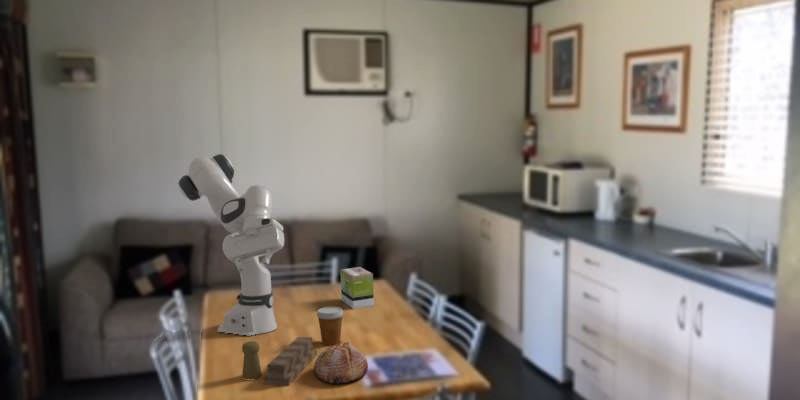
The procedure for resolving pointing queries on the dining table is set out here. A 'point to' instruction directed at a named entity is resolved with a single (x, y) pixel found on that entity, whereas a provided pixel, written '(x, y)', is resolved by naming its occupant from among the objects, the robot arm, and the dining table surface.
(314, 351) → the ridge stand
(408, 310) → the dining table surface
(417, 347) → the dining table surface
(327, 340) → the disposable coffee cup
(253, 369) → the olive pawn
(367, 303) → the tea box
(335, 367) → the bread
